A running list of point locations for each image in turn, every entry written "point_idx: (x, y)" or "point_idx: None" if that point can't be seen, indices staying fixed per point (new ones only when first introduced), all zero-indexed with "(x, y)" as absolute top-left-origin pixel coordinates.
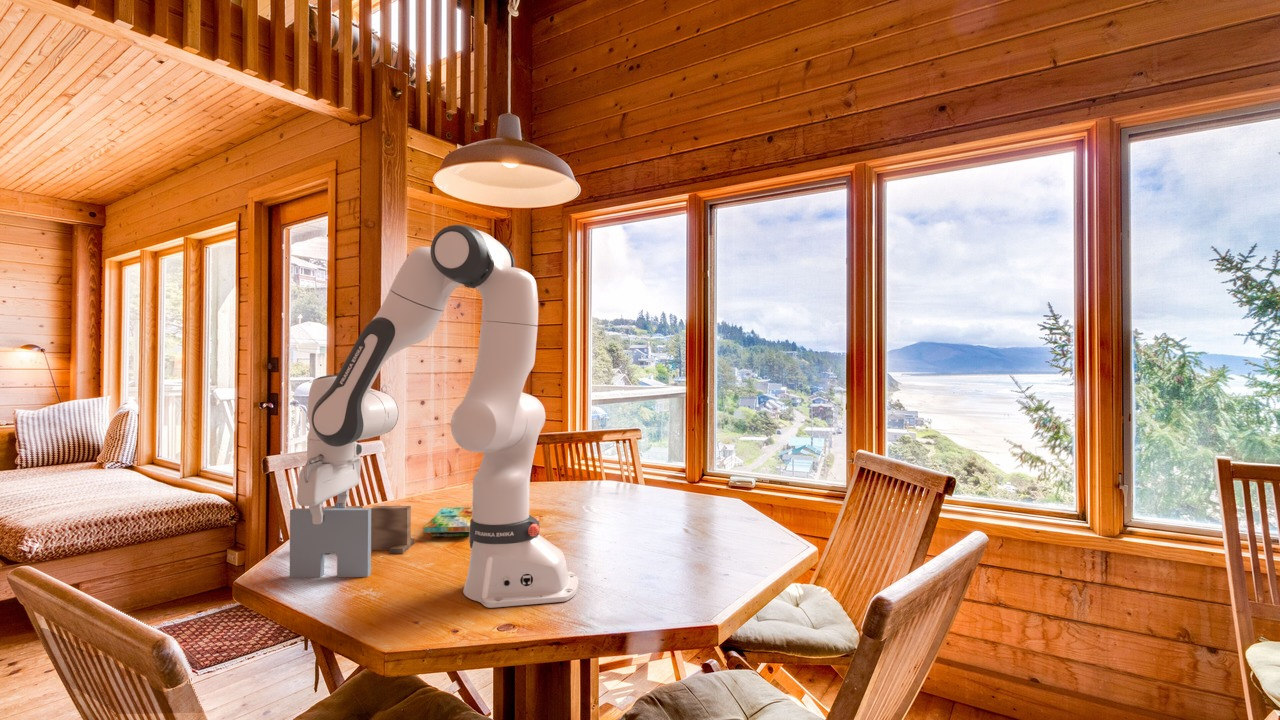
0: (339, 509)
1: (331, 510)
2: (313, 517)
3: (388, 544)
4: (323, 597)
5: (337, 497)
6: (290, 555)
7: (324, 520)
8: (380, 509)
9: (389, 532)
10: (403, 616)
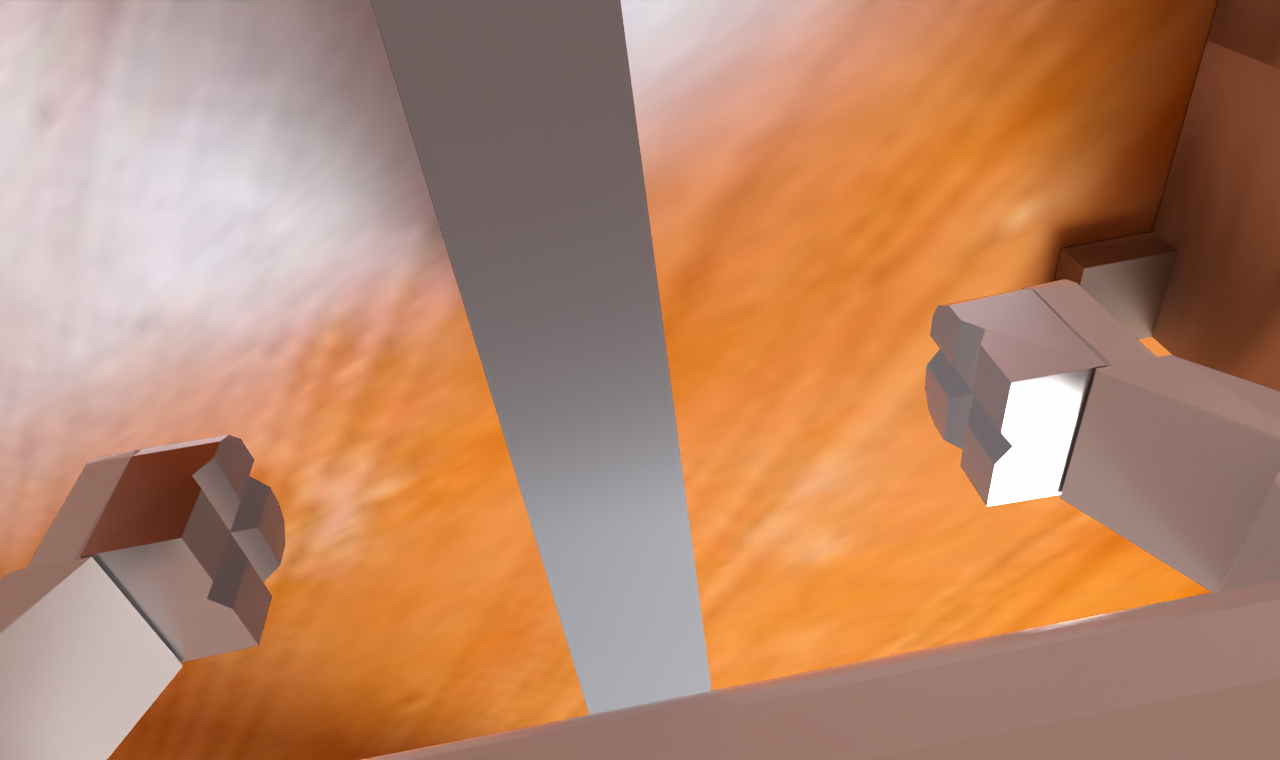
0: (615, 640)
1: (546, 569)
2: (60, 545)
3: (1197, 209)
4: (152, 320)
5: (1235, 421)
6: None
7: (271, 552)
8: None
9: (1272, 267)
10: (152, 740)
